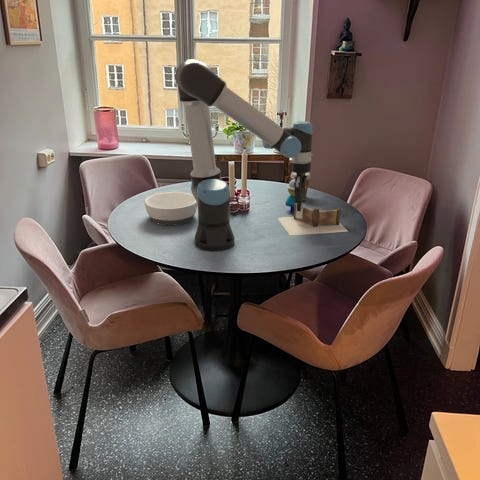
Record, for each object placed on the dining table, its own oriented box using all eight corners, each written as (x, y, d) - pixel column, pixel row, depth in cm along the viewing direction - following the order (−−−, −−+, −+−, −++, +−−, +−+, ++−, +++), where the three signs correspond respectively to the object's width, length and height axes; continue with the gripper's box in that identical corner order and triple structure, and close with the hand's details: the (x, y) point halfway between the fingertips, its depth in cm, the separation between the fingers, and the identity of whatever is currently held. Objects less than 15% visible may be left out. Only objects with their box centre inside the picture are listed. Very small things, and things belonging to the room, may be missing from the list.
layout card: (290, 236, 189) (290, 235, 189) (277, 218, 207) (277, 217, 207) (348, 232, 194) (348, 231, 193) (330, 215, 212) (330, 214, 211)
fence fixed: (313, 227, 197) (314, 210, 195) (311, 225, 200) (312, 208, 197) (340, 225, 199) (341, 208, 197) (338, 223, 202) (339, 206, 199)
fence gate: (313, 223, 200) (314, 209, 198) (310, 224, 199) (311, 210, 197) (295, 217, 207) (296, 202, 205) (292, 218, 206) (293, 203, 204)
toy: (303, 215, 211) (305, 182, 205) (283, 214, 212) (285, 181, 207) (305, 209, 219) (307, 176, 213) (286, 207, 220) (287, 175, 214)
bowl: (142, 212, 215) (141, 194, 211) (192, 207, 221) (191, 189, 218) (150, 230, 195) (148, 211, 192) (204, 224, 201) (203, 205, 198)
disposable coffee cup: (310, 195, 237) (311, 171, 233) (308, 201, 229) (309, 176, 224) (290, 193, 239) (291, 170, 235) (288, 199, 231) (289, 175, 226)
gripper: (307, 165, 185) (304, 223, 194) (314, 158, 196) (311, 214, 205) (288, 164, 188) (286, 221, 197) (296, 157, 199) (294, 212, 208)
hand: (299, 217), depth 201 cm, fingers closed
